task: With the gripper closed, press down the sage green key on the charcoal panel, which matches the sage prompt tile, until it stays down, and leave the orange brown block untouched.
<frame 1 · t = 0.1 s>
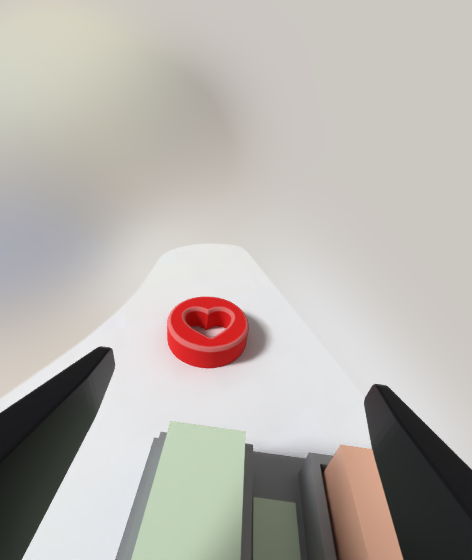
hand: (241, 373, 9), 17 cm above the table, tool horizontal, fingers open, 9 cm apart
sage button: (188, 555, 13), point 6 cm above the table, slide at 0.0 cm
decorative ornament: (207, 339, 34), on the table
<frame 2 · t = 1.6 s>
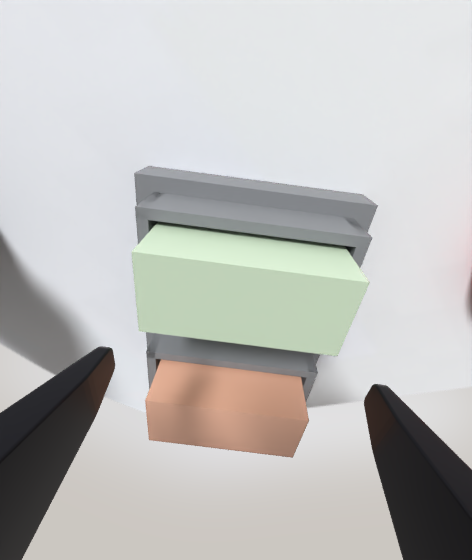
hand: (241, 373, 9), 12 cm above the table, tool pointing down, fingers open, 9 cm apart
sage button: (245, 285, 14), point 7 cm above the table, slide at 0.0 cm
orange brown block: (226, 403, 19), point 7 cm above the table, slide at 0.0 cm
button panel: (239, 294, 22), on the table
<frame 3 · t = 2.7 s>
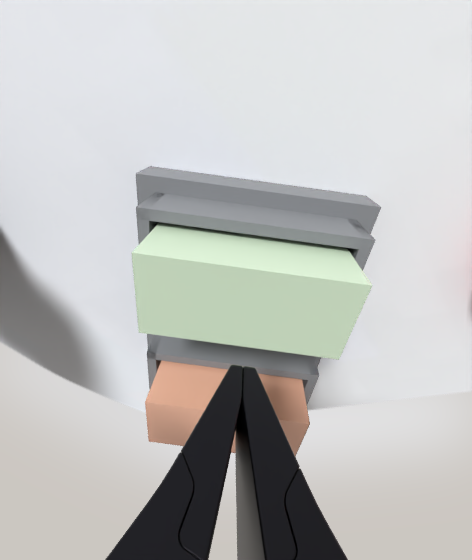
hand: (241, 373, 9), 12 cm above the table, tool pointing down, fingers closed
sage button: (246, 287, 14), point 6 cm above the table, slide at 0.0 cm
orange brown block: (227, 405, 19), point 7 cm above the table, slide at 0.0 cm
button panel: (240, 295, 22), on the table
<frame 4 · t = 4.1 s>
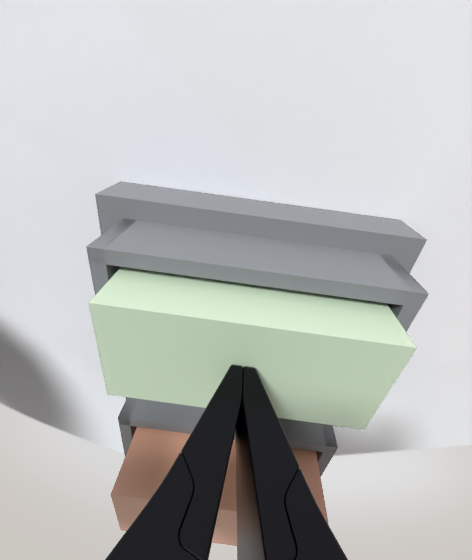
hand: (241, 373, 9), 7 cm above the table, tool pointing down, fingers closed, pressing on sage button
sage button: (245, 334, 11), point 5 cm above the table, slide at 1.2 cm, touching gripper
orange brown block: (220, 481, 15), point 6 cm above the table, slide at 0.0 cm
button panel: (238, 335, 18), on the table
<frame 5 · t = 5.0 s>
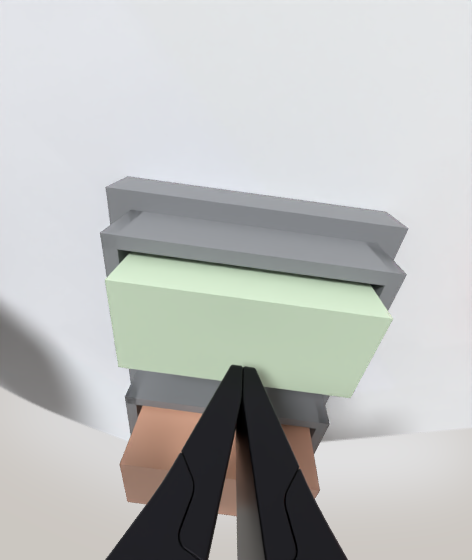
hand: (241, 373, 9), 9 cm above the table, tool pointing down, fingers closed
sage button: (243, 313, 12), point 5 cm above the table, slide at 1.3 cm
orange brown block: (220, 456, 16), point 7 cm above the table, slide at 0.0 cm
button panel: (237, 322, 19), on the table
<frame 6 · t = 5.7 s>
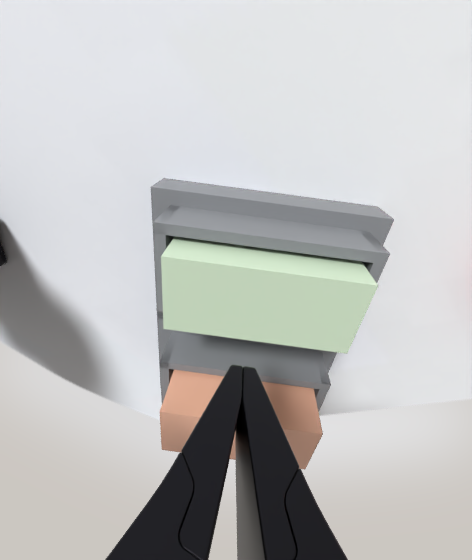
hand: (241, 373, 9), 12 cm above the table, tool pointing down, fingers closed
sage button: (261, 287, 15), point 5 cm above the table, slide at 1.3 cm
orange brown block: (238, 413, 19), point 7 cm above the table, slide at 0.0 cm
button panel: (251, 303, 22), on the table
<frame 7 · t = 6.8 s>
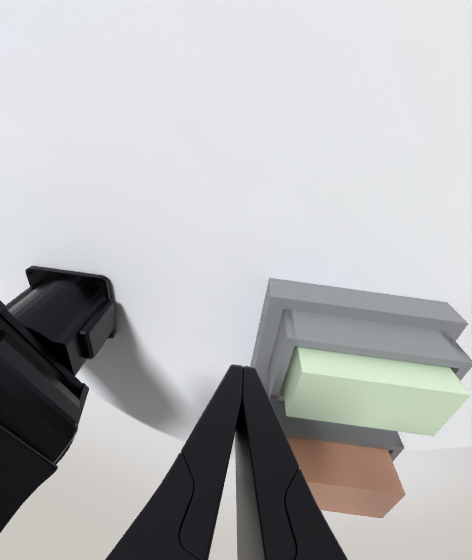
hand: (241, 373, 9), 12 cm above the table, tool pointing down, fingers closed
sage button: (362, 379, 19), point 5 cm above the table, slide at 1.3 cm
orange brown block: (324, 470, 23), point 7 cm above the table, slide at 0.0 cm
button panel: (325, 368, 26), on the table
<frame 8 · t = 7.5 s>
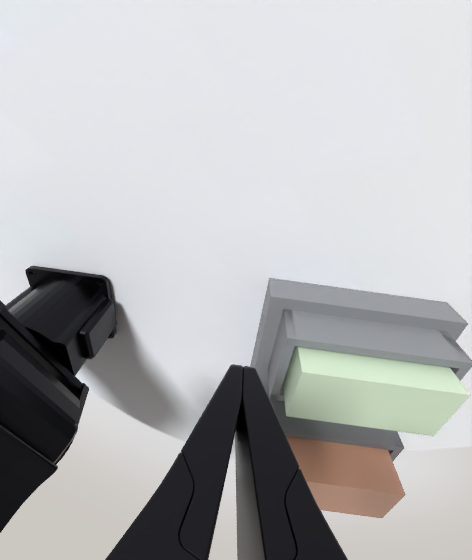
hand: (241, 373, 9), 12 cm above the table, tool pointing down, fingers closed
sage button: (362, 379, 19), point 5 cm above the table, slide at 1.3 cm
orange brown block: (324, 470, 23), point 7 cm above the table, slide at 0.0 cm
button panel: (325, 368, 26), on the table
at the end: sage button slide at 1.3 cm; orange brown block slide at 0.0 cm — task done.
